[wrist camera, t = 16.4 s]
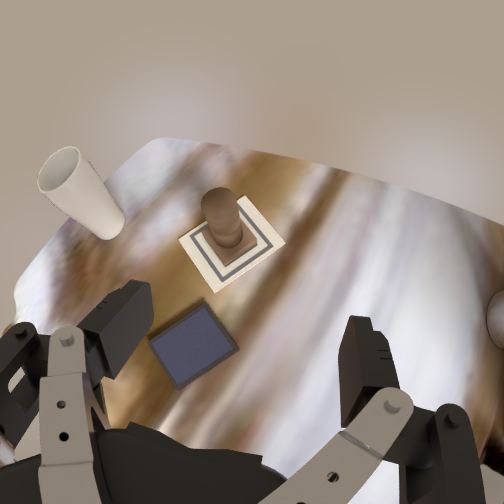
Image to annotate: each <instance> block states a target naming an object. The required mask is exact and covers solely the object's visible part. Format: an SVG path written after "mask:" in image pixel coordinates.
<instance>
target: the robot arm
mask: <svg viewBox="0 0 504 504" xmlns="http://www.w3.org/2000/svg"><path fill="white" fill-rule="evenodd" d="M153 318H154V311H153V304H152V296H151V287H150V284H149V283H148V282H143V281H138V280H133V279H131V280H130V281H129V282H128V283H127V284H126V285H125V286H124V287H123V288H122V289H120V288H119V289H117V290H115V291H113V292H111V293H109V294H108V295H107V296H106V297H105V298H104V299H103V300H102V302H100V303H99V304H98V305H97V306H96V308H94V309H93V310H92V311H91V312H90V313H89V314H88V315H87V316H86V317H85V318H84V319H83V320H82V321H81V322H80V323H79V324H78V325H77V326H76V327H74V326H66V327H62V328H60V329H58V330H56V331H55V332H54V333H53V334H52V336H51V335H41V334H38V333H37V331H36V328H35V326H34V325H33V324H32V323H30V322H21V323H18V324H16V325H14V326H12V327H11V328H10V329H9V330H8V331H7V332H6V333H5V334H4V335H3V336H2V337H1V338H0V504H347V503H348V502H349V501H350V500H351V499H352V498H353V496H354V495H355V494H356V493H357V492H358V491H359V490H360V488H361V487H362V486H363V485H364V484H365V482H366V481H367V480H368V479H369V477H370V476H371V475H372V474H373V472H374V471H375V470H376V468H377V467H378V466H379V464H380V463H381V462H382V460H385V461H388V462H392V463H396V464H399V504H486V501H485V493H484V487H483V480H482V474H481V469H480V463H479V458H478V453H477V448H476V444H475V440H474V436H473V431H472V428H471V424H470V420H469V417H468V415H467V413H466V412H465V410H464V409H462V408H461V407H460V406H458V405H455V404H450V403H449V404H444V405H442V406H440V407H439V408H438V409H437V411H436V412H434V411H430V410H426V409H422V408H419V407H416V406H414V405H413V401H412V399H411V398H410V396H409V395H408V394H407V393H405V392H404V391H402V390H400V386H399V382H398V377H397V373H396V369H395V365H394V361H393V360H392V359H393V358H392V354H391V352H390V351H391V350H390V347H389V343H388V340H387V339H386V338H385V336H384V335H383V334H382V333H381V331H373V327H372V323H371V319H370V317H363V316H354V315H351V316H350V317H349V320H348V323H347V326H346V329H345V332H344V335H343V339H342V342H341V345H340V348H339V354H338V366H339V383H340V406H341V428H346V429H345V430H344V431H340V432H338V433H337V434H336V435H335V436H334V437H333V438H332V439H331V440H330V441H329V442H328V443H327V444H326V445H325V446H324V447H323V448H322V449H321V450H320V451H319V452H318V453H317V454H316V455H315V456H314V457H313V458H312V459H311V460H310V461H308V462H307V463H306V464H305V465H304V466H303V467H302V468H301V469H300V470H298V471H297V472H296V473H295V474H294V475H293V476H292V477H290V478H289V479H287V478H286V477H284V476H283V475H282V474H280V473H279V472H277V471H276V470H274V469H272V468H270V467H268V466H265V465H263V464H261V462H262V457H263V456H261V455H255V454H249V453H243V452H238V451H233V450H228V449H191V448H188V447H186V446H184V445H182V444H180V443H179V442H177V441H175V440H173V439H172V438H170V437H168V436H166V435H165V434H163V433H161V432H159V431H156V430H153V429H150V428H147V427H145V426H142V425H139V424H136V423H133V422H131V421H130V423H129V424H128V426H127V428H126V429H111V426H110V423H109V420H108V415H107V410H106V405H105V399H104V393H103V387H102V383H101V379H102V378H103V377H104V376H105V377H108V378H111V379H113V380H114V379H115V378H116V376H117V375H118V373H119V372H120V371H121V369H122V368H123V366H124V365H125V363H126V362H127V360H128V359H129V357H130V356H131V355H132V353H133V352H134V350H135V349H136V347H137V346H138V344H139V343H140V342H141V340H142V339H143V337H144V336H145V334H146V333H147V332H148V330H149V329H150V327H151V325H152V323H153ZM487 326H488V331H489V334H490V337H491V339H492V341H493V342H494V343H495V345H497V346H498V347H500V348H502V349H504V290H502V291H500V292H498V293H496V294H495V295H494V296H493V297H492V299H491V300H490V303H489V306H488V310H487ZM20 367H22V369H23V371H24V373H25V375H24V376H23V378H22V379H21V380H20V382H19V383H18V384H17V385H16V387H15V388H14V389H13V391H12V392H11V393H10V392H9V390H8V383H9V381H10V379H11V378H12V377H13V375H14V374H15V373H16V372H17V370H18V369H19V368H20ZM38 411H39V422H40V444H41V454H38V455H35V456H32V457H30V458H27V459H23V460H20V461H17V462H16V460H15V459H14V450H15V448H16V446H17V445H18V443H19V441H20V440H21V438H22V436H23V435H24V433H25V432H26V430H27V429H28V427H29V425H30V424H31V422H32V421H33V419H34V418H35V416H36V415H37V413H38Z"/></svg>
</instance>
